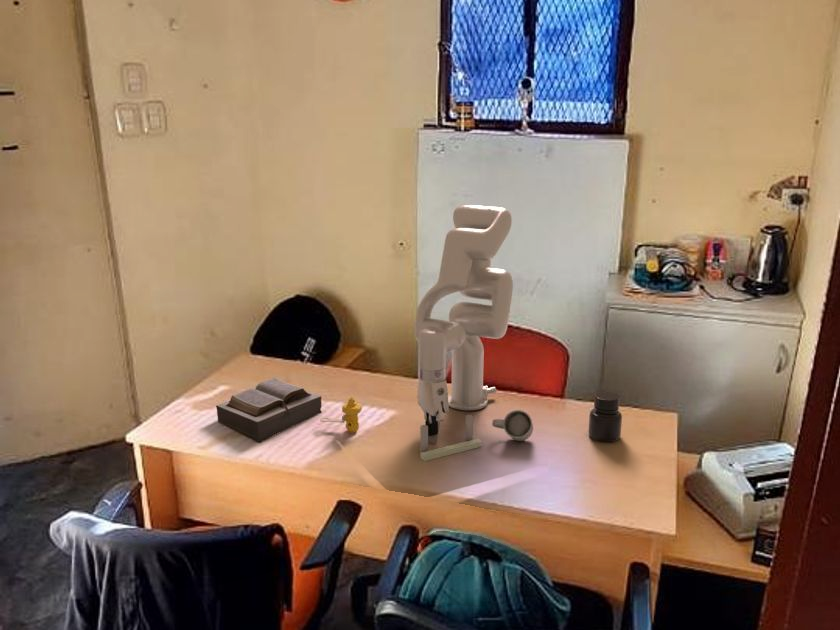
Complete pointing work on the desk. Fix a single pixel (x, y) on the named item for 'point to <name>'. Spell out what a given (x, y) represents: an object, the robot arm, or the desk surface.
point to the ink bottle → (605, 417)
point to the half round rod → (434, 436)
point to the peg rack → (450, 449)
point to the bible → (268, 409)
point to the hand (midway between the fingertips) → (431, 434)
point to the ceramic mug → (516, 425)
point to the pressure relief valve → (348, 415)
